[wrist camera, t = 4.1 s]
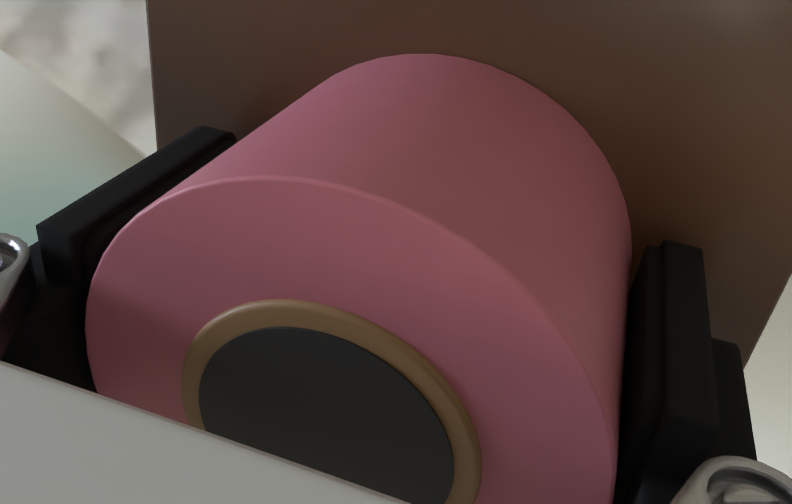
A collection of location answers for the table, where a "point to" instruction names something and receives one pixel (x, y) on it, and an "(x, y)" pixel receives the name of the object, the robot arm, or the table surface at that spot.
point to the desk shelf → (564, 83)
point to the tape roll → (388, 290)
